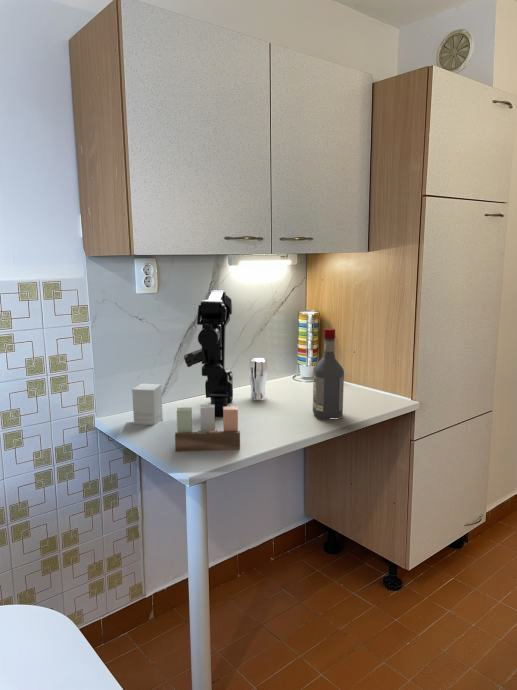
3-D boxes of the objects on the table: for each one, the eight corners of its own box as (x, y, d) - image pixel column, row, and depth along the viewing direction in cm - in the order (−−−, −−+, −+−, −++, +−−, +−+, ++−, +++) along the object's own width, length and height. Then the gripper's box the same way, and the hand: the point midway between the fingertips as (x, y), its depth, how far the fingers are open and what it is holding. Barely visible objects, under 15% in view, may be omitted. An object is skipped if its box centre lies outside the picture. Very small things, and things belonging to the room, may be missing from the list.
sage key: (178, 444, 155) (177, 407, 153) (192, 443, 155) (191, 407, 153) (177, 448, 152) (176, 410, 150) (192, 447, 152) (191, 410, 150)
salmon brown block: (223, 443, 156) (223, 406, 154) (237, 442, 156) (237, 406, 154) (223, 446, 153) (223, 409, 151) (237, 446, 153) (237, 409, 151)
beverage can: (211, 401, 200) (211, 370, 198) (224, 398, 205) (224, 367, 202) (223, 405, 195) (222, 373, 193) (236, 401, 200) (236, 370, 198)
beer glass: (261, 395, 209) (261, 357, 206) (270, 399, 203) (271, 360, 200) (245, 397, 205) (245, 359, 202) (254, 402, 199) (254, 362, 196)
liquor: (336, 411, 189) (339, 326, 184) (344, 419, 180) (347, 331, 175) (311, 411, 188) (313, 327, 182) (317, 420, 179) (319, 331, 174)
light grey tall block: (201, 440, 158) (200, 404, 155) (214, 440, 158) (214, 404, 156) (201, 444, 155) (200, 407, 153) (215, 444, 155) (214, 407, 153)
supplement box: (163, 421, 178) (162, 384, 176) (154, 428, 171) (153, 390, 169) (142, 419, 180) (141, 382, 177) (133, 426, 173) (131, 388, 170)
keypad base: (177, 443, 158) (176, 423, 157) (238, 442, 160) (238, 421, 158) (175, 455, 150) (174, 433, 149) (240, 453, 151) (240, 431, 150)
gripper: (186, 336, 171) (187, 384, 174) (183, 348, 153) (184, 400, 156) (221, 336, 172) (222, 383, 175) (222, 347, 154) (223, 400, 157)
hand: (212, 391), depth 166 cm, fingers closed
